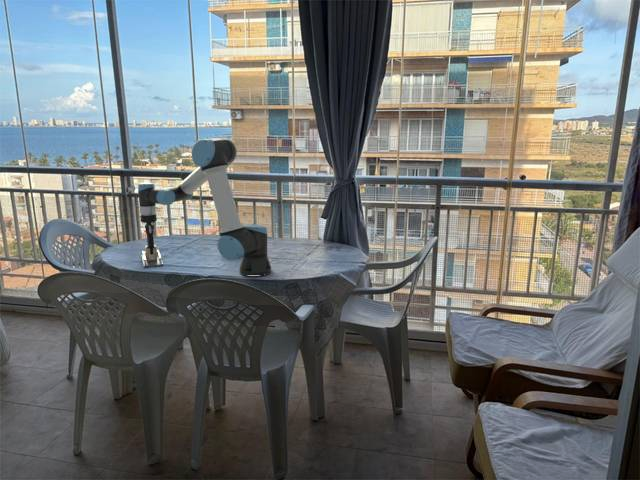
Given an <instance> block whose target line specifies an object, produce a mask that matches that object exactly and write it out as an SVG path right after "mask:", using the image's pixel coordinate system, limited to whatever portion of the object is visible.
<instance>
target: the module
mask: <svg viewBox="0 0 640 480" xmlns="http://www.w3.org/2000/svg"><path fill="white" fill-rule="evenodd" d="M147 247H148V244H146V245H145V247H144V248H145V252H146V260H147V261H149V251H148V248H147ZM157 250H158V249H157V245H156V244H154V253H155V260H157Z"/></svg>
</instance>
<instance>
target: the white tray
mask: <svg viewBox="0 0 640 480" xmlns="http://www.w3.org/2000/svg"><path fill="white" fill-rule="evenodd" d="M156 250H157V260H150V261H147V260H146V251H144V250H142V254H141V259H142V266H143V268H145V269H147V268H153V267H155V268H156V267H163V266H164V262H163V260H162V255H161V253H160V250H159V249H156Z"/></svg>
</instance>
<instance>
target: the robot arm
mask: <svg viewBox="0 0 640 480" xmlns="http://www.w3.org/2000/svg"><path fill="white" fill-rule="evenodd" d="M190 153H191V160H192V162H193V163H194V164H195V166H197V168H196V169H195V170H194V171H193V172H191V173H190V174H189V175H187V176H186V178H184V179H183V181H182V182H180V183H179V184H178V185H176V186H170V187H163V188H161V187H160V188H159V187H156V186H155V184H154V183H153V182H140V183H138V186H137V187H138V188H137V189H138V190H137V193H138V201H139V202H138V203H139V204H138V206H139V214H140V217H139V218H140V222H141V223H143V224H145V225H144V229H145V233H146V242H147V244H146V245H148V247H147V248H148V251H149V261H150V260H155V253H154V245H155V241H154V239H155V238H154V234H155V233H154V232H155V231H154V229H155V226H154V224H152V223H155V222H157V221H158V218H157V217H158V216H157V209H158V207H157V206H156V205H157V204H158V205H163V206H170V205H172V204H173V203H176V202H182V201H187V200H191V199H192V198H193V195H194V192H196V191H197V190H198V189H199V188H201V187H202V186H203V185H204V184H205V183H206V182H208V186H209V188H210V193H211V195H212V200H213V203H214V207H215V210H216V213H217V218H218V221H219V223H220V227H221V228H220V230H219V237H220V238H219V239H218V240H217V241H218V242H217V245H216V246H217V250H218V252H219V254H220V255H221V256H222V257H223V258H225V259H226V260H228V261H236V260H241V263H240V265H239V274H240V273H241V274H240V275H242V274H244V275H264V274H268V273H270V272H271V273H272V266H271V262H270V260H269V257H268V228H267V227H266V226H265V225H260V224H242V223H241V221H240V217H239V213H238V210H237V205H236V203H235V198H234V196H233V192H232V187H231V185H230V181H229V177H228V174H227V169H228V167H229V166H230V165H231V164H232V163H233V162H234V161H235V159H236V158H237V153H238V151H237V147H236V145H235V143H233V141H231V140H230V139H228V138H224V137H220V138H214V137H213V138H212V137H211V138H210V137H209V138H208V137H207V138H201V139H198V140H197V141H196V142H195V143H194V144H193V147H191V152H190ZM271 273H270V274H271ZM244 275H243V276H244ZM268 275H269V274H268Z"/></svg>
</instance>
